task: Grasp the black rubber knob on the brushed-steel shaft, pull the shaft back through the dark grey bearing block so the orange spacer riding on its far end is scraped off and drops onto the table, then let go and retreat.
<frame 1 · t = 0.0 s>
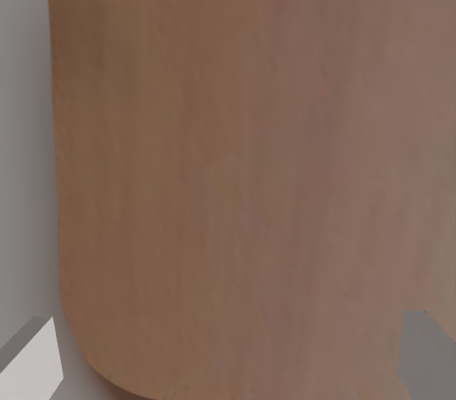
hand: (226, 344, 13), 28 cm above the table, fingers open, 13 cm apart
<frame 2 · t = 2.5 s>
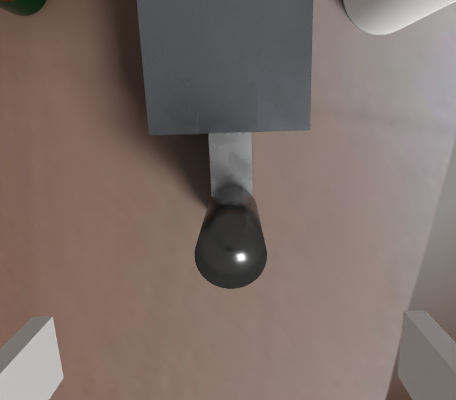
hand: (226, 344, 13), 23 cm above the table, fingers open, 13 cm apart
shaft: (227, 77, 25), point 8 cm above the table, slide at 0.0 cm, touching spacer
bearing block: (228, 73, 32), on the table
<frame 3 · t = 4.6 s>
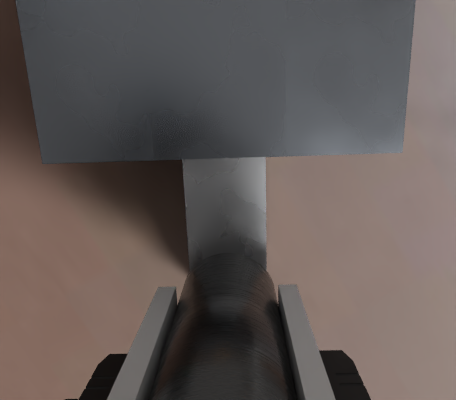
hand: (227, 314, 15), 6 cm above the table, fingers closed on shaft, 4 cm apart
shaft: (214, 32, 11), point 8 cm above the table, slide at 0.0 cm, touching gripper, spacer
bearing block: (223, 43, 18), on the table
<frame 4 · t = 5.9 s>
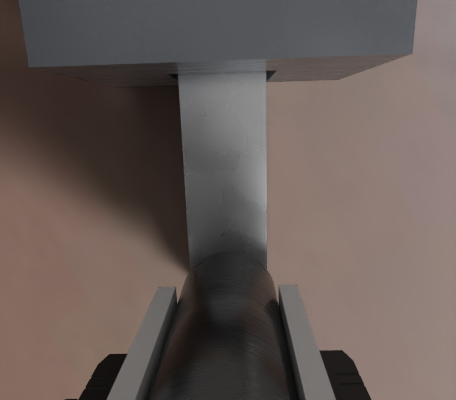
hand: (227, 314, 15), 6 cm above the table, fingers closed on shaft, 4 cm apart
shaft: (216, 30, 11), point 8 cm above the table, slide at 3.0 cm, touching gripper, spacer
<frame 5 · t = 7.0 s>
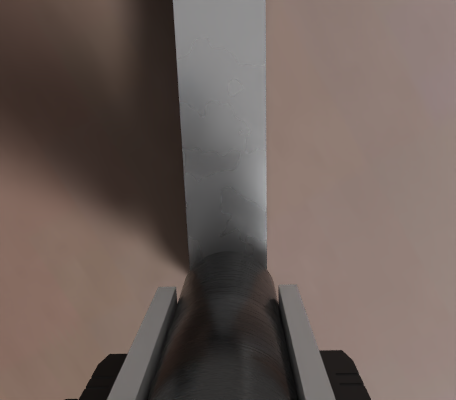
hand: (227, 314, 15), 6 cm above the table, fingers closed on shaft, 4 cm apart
shaft: (215, 29, 11), point 8 cm above the table, slide at 9.2 cm, touching gripper
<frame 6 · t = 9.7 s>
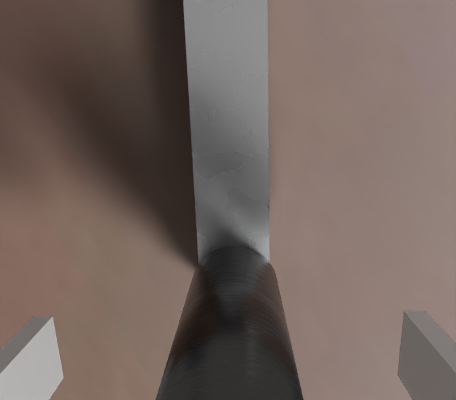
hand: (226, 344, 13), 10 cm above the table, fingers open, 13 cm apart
shaft: (223, 46, 12), point 8 cm above the table, slide at 10.9 cm
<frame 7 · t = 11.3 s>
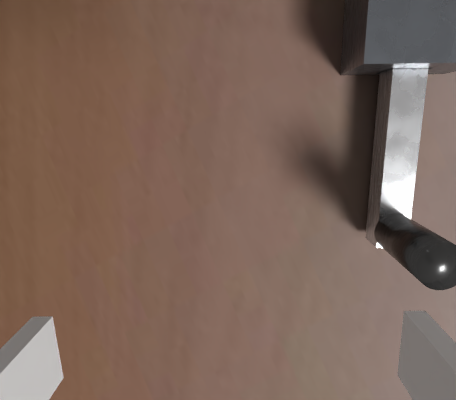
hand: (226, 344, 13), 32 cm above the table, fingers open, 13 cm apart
shaft: (418, 137, 34), point 8 cm above the table, slide at 10.9 cm
bearing block: (396, 28, 39), on the table
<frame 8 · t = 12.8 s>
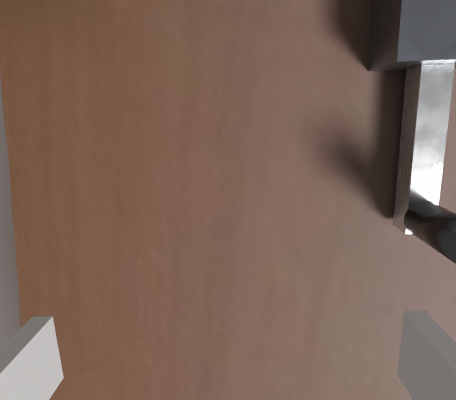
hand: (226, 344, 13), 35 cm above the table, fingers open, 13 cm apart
shaft: (447, 129, 37), point 8 cm above the table, slide at 10.9 cm
bearing block: (421, 24, 41), on the table
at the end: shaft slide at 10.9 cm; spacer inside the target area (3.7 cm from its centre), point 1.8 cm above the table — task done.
